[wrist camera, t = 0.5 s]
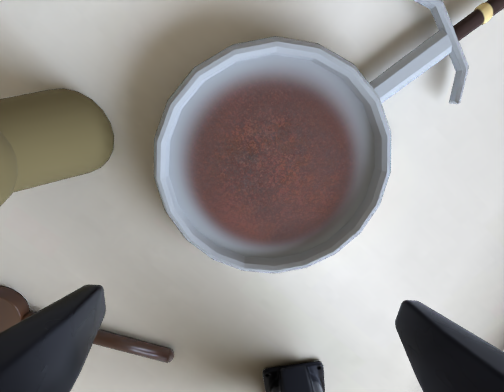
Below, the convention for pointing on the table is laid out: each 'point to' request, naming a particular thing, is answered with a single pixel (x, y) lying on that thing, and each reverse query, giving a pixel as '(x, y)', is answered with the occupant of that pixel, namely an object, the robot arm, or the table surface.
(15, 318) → the wooden spoon
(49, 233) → the table surface
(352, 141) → the frying pan
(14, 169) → the olive pawn
